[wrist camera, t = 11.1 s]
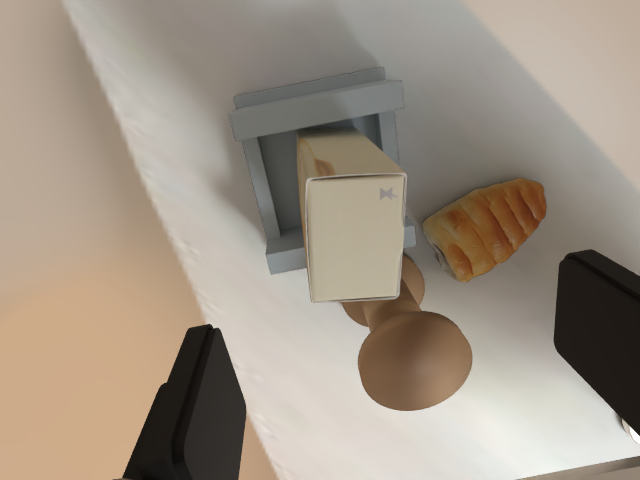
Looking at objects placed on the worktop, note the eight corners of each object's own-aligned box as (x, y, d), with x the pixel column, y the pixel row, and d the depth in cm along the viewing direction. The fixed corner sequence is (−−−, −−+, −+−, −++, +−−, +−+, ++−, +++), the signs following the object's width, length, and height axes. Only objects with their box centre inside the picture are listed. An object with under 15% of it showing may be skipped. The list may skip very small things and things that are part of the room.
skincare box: (294, 128, 27) (302, 169, 15) (357, 125, 27) (410, 164, 16) (299, 217, 29) (308, 308, 18) (356, 214, 29) (401, 301, 18)
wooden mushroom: (417, 241, 32) (471, 310, 23) (423, 312, 35) (473, 399, 25) (333, 258, 32) (352, 333, 23) (346, 328, 35) (368, 420, 25)
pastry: (516, 152, 30) (546, 163, 26) (547, 218, 32) (579, 236, 29) (411, 221, 31) (427, 240, 28) (449, 279, 34) (468, 303, 30)
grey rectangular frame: (380, 67, 26) (400, 66, 22) (397, 228, 31) (417, 255, 27) (235, 95, 26) (225, 100, 22) (275, 253, 31) (273, 284, 27)
